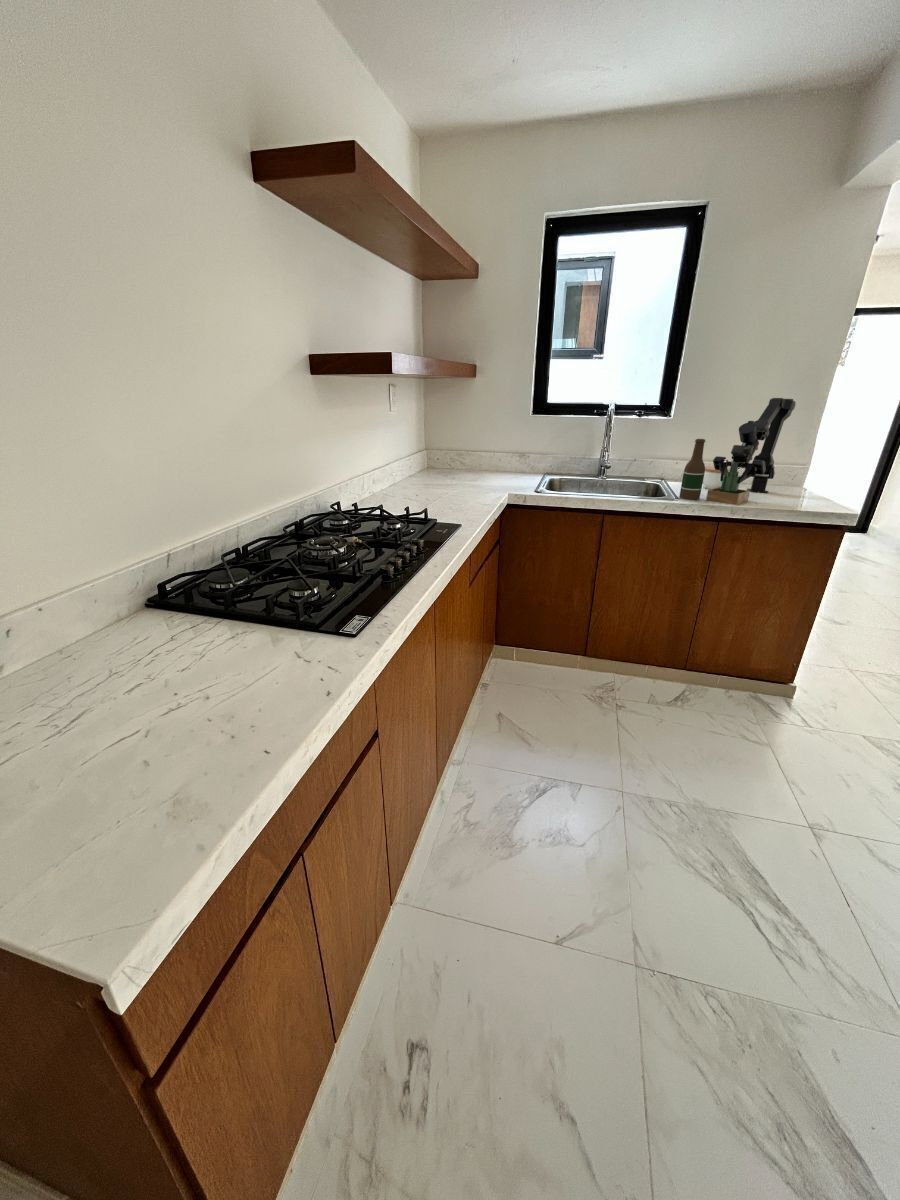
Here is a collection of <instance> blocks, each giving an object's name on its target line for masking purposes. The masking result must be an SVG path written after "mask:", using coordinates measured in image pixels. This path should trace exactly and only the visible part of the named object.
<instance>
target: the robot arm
mask: <svg viewBox="0 0 900 1200" xmlns="http://www.w3.org/2000/svg"><path fill="white" fill-rule="evenodd" d="M796 403H797V402H796V401H795V400H794V398H783V397H771V398H769V401H768V405H767V406H766V407H765V409H764V410H763V412H762V414H761V415H759V418H758V419H757V420H755V421H754V420H748V421H747V422H746V423H743V424H741V425H740V426H739V427H738V434H739V435H738V436H739V441H740V442H741V445H740V444H733V445H732V448H731V451H730V454H731V460H729V459H727V457H726V456H720V455H718V456H715V457H714V458H713V460H712V464H713V466H714V468H715V469H716V470H720V471H721V478H720V481H722V479H723V475H724V474H727V471H728V469H727V467H731V462H738V463H739V465H738V469H744V470H743V472H742V473H741V475H740V476H741V477H740V479H739V481H738V484H739V485H740V484H741V483H743V482H745V480H747V479H749V478H751V477H752V482H751V486H750V488H747V490H748V491H750V492H752V493H769V490H767V489H766V488H767V484H768V481H769V480H774V478H775V473H776V471H775V465H774V464H775V459H774V457H773V455H774V452H775V448H776V446H777V443H778V440H779V437H780V434H781V431H782V428H783V426H784V422H785V421H786V420H788V418H790V416H792V412H793V411H794V410H795V408H796ZM760 441H764V442H763V445H762V446H761V447H762V448H761V450H760V453H759V454H758V455H755V456H754V454H755V452H756V451H758V449H759V445H760ZM753 456H754V457H753ZM751 461H752V462H751Z"/></svg>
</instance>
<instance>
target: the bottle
mask: <svg viewBox="0 0 900 1200" xmlns="http://www.w3.org/2000/svg"><path fill="white" fill-rule="evenodd" d="M738 465H739V463H738V462H731V466H729V468H730V471H727V474H724V475H723V479H722V484H721V488H720V492H727V493H734V494H737V493H738V489H740V484H738V481H739V479H740V477H741V475H740V474H739V472H740V471H738V469H739V468H738Z"/></svg>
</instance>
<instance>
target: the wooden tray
mask: <svg viewBox="0 0 900 1200" xmlns="http://www.w3.org/2000/svg"><path fill="white" fill-rule="evenodd" d="M720 488H721V487H718V488H714V489H708V490H707V493H706V494H707V495H706V499H705V501H710V502H716V503H722V504H728V505H729V504H730V505H735V506H737V505H740V504H742V503H746V502H748V500H749V497H750V493H751V491H750V490H746V489H740V488H739V489H738V493H737V494H734V493H727V492H720Z"/></svg>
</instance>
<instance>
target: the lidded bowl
mask: <svg viewBox="0 0 900 1200" xmlns="http://www.w3.org/2000/svg"><path fill="white" fill-rule="evenodd" d="M727 469H728V471H730V466H728V467H727ZM720 478H721V471H720V470H716V469H715V468H714V465H707V466H706V465H705V474H704V479H703V484H702V485H703V486H704V488H705V489H708V490H711V489H714V488H718V487H721V484H722V481H720Z"/></svg>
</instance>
